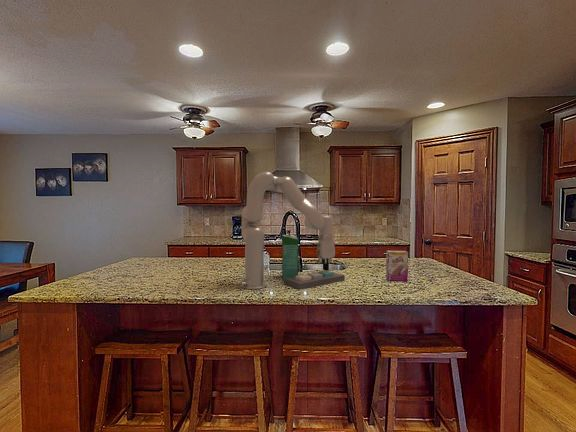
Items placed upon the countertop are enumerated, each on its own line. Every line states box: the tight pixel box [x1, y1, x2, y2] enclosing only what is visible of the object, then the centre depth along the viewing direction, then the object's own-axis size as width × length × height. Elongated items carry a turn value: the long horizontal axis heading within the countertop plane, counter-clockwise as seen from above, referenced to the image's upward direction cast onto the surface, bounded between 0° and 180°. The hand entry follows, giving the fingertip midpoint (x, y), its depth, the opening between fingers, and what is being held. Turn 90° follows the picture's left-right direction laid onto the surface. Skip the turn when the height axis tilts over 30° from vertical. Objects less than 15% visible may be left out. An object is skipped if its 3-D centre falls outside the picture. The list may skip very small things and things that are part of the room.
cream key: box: [296, 274, 311, 281], centre depth 170 cm, size 6×6×2 cm
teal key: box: [317, 270, 333, 277], centre depth 179 cm, size 6×6×2 cm
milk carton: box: [281, 234, 299, 280], centre depth 186 cm, size 9×9×25 cm
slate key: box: [306, 272, 323, 279], centre depth 175 cm, size 6×6×2 cm
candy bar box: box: [385, 250, 409, 282], centre depth 179 cm, size 11×5×16 cm, turn 84°
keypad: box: [283, 270, 346, 291], centre depth 175 cm, size 32×14×3 cm, turn 126°
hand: (325, 270), depth 179 cm, fingers closed
